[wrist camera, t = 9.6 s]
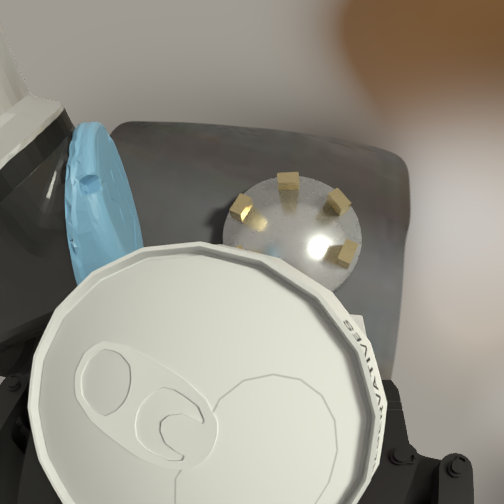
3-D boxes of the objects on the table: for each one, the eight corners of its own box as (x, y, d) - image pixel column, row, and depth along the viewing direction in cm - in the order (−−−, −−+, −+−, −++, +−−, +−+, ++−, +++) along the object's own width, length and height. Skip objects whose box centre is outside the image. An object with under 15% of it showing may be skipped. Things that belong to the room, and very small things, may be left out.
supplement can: (339, 361, 19) (468, 310, 5) (281, 473, 16) (272, 635, 2) (225, 309, 21) (120, 168, 7) (169, 416, 18) (-17, 447, 4)
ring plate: (271, 332, 31) (269, 327, 28) (202, 223, 37) (196, 210, 34) (384, 256, 33) (392, 245, 30) (307, 165, 39) (308, 149, 36)
